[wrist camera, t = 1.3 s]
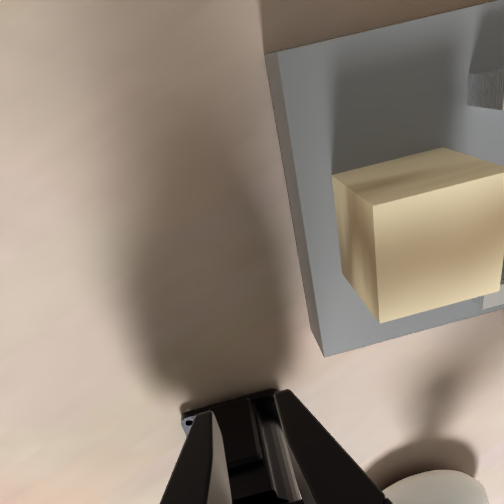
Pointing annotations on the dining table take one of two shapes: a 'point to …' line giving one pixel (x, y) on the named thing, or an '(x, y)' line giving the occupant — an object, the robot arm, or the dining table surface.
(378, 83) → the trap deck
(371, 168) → the beech block
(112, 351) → the dining table surface
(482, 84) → the channel rails
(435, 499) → the flower in vase
